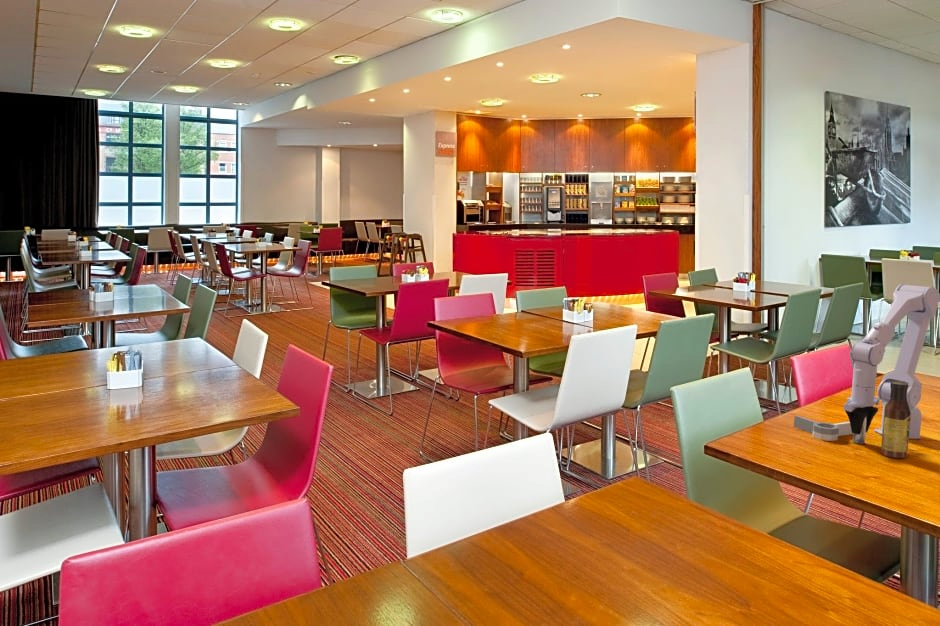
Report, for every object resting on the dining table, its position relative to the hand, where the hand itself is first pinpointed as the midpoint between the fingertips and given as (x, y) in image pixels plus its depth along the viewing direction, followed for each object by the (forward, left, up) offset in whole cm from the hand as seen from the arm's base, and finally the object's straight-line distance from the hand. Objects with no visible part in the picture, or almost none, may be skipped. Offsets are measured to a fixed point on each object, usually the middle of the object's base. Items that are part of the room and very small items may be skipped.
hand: (859, 432), depth 204 cm
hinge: (+5, -10, -3) cm, 11 cm away
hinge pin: (0, 0, -3) cm, 3 cm away
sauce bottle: (-3, +11, -3) cm, 12 cm away
